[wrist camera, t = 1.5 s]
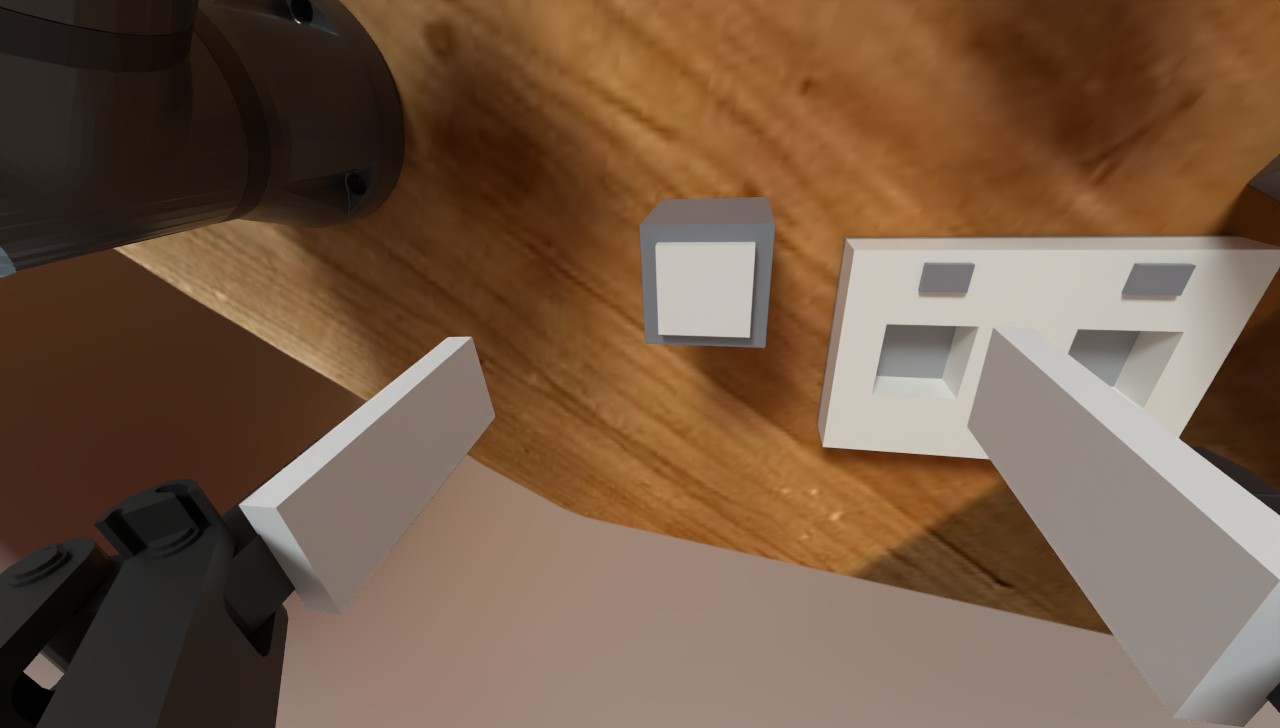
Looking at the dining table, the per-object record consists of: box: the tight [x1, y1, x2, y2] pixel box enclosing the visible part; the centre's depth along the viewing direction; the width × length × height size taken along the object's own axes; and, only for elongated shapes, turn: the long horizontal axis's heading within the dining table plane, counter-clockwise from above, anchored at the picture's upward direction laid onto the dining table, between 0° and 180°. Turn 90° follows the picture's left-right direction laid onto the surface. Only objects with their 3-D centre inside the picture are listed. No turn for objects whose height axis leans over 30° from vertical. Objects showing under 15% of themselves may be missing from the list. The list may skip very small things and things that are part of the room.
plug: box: [640, 197, 775, 348], centre depth 27 cm, size 6×6×11 cm
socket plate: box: [817, 235, 1280, 459], centre depth 29 cm, size 20×14×3 cm
